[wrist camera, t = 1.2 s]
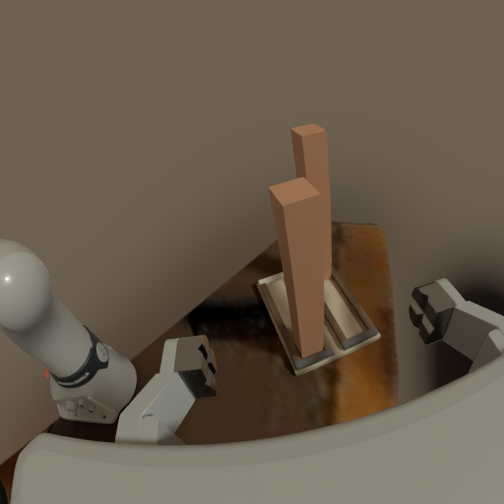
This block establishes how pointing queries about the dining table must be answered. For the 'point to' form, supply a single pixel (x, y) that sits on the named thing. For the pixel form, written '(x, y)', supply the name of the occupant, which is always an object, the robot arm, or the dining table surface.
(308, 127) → the tan square post
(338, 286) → the divided tray
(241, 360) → the dining table surface
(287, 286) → the tab
